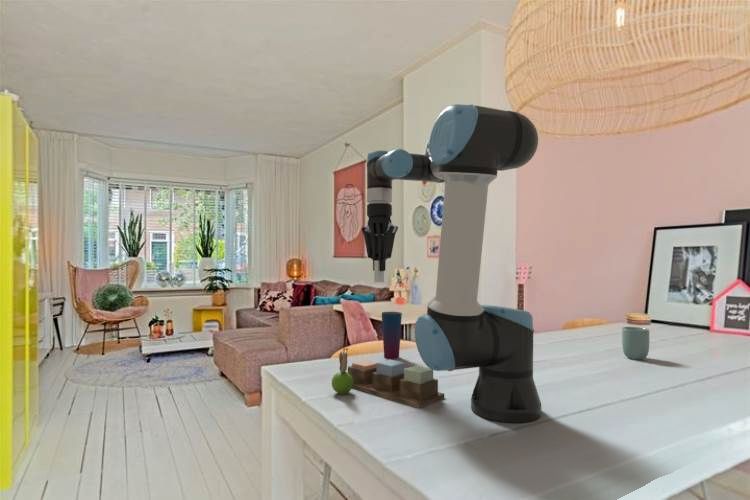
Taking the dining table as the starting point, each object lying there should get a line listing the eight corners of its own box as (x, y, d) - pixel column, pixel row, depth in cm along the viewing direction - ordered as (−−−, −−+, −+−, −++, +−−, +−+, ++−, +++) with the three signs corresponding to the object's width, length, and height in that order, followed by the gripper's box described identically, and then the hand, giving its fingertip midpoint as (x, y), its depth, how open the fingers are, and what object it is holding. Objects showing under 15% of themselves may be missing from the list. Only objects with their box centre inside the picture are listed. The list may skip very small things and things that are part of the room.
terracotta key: (378, 374, 121) (378, 362, 121) (365, 377, 117) (365, 366, 117) (365, 370, 124) (365, 359, 124) (352, 374, 121) (352, 363, 121)
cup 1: (379, 358, 149) (379, 313, 149) (384, 354, 156) (384, 311, 156) (398, 360, 147) (399, 314, 147) (403, 355, 154) (403, 311, 154)
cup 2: (617, 357, 153) (617, 327, 153) (632, 354, 156) (632, 326, 157) (639, 362, 146) (638, 331, 146) (654, 359, 149) (654, 329, 149)
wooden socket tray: (444, 397, 109) (444, 378, 109) (419, 408, 102) (419, 387, 102) (367, 377, 127) (367, 360, 127) (341, 384, 120) (341, 367, 120)
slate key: (404, 374, 115) (404, 362, 115) (391, 378, 111) (391, 366, 111) (389, 370, 118) (389, 359, 118) (376, 374, 115) (376, 362, 115)
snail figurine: (334, 398, 108) (334, 349, 108) (329, 391, 114) (330, 343, 115) (356, 397, 110) (356, 347, 110) (350, 389, 116) (350, 342, 116)
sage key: (433, 381, 109) (433, 368, 109) (420, 385, 105) (420, 372, 105) (416, 377, 112) (416, 365, 112) (404, 381, 108) (404, 369, 108)
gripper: (404, 203, 134) (403, 282, 133) (372, 206, 143) (372, 280, 142) (387, 200, 128) (387, 283, 128) (355, 204, 137) (355, 281, 137)
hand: (379, 282), depth 135 cm, fingers closed
